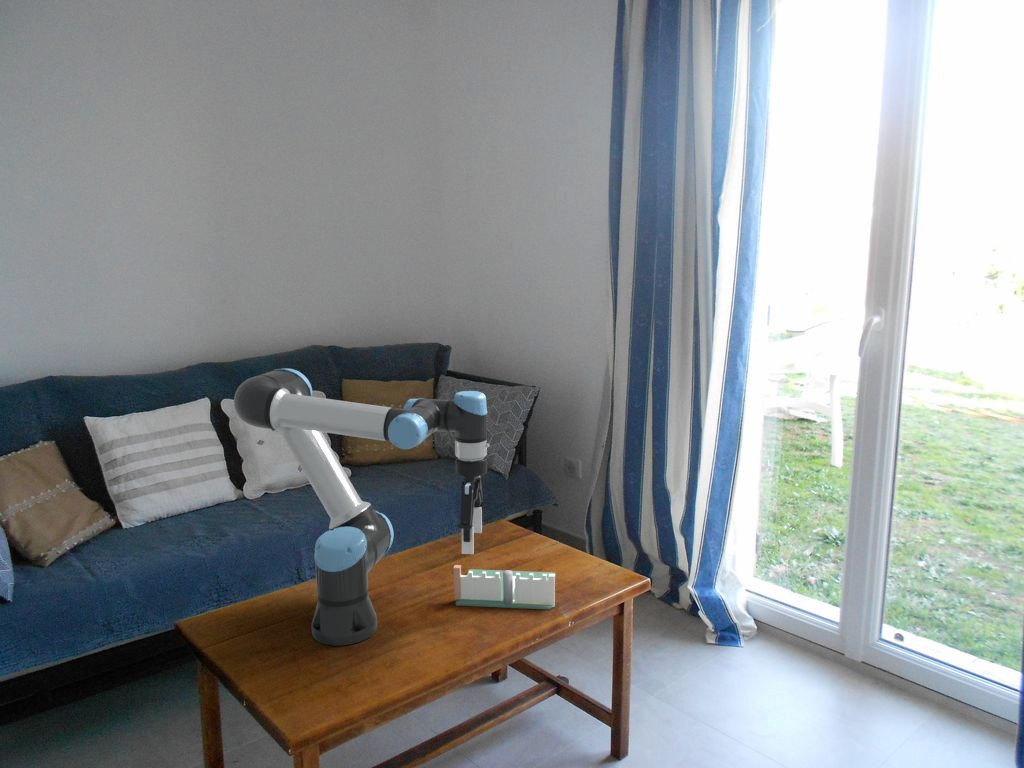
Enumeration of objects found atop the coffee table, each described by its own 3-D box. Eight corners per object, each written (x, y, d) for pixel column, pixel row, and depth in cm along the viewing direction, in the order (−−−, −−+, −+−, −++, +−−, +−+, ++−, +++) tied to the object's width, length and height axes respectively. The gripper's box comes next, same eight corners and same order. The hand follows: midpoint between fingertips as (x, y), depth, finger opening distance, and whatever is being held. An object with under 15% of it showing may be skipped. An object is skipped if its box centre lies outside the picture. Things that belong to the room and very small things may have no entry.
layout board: (455, 605, 188) (455, 602, 188) (469, 571, 208) (469, 568, 207) (551, 609, 185) (551, 606, 185) (555, 574, 205) (555, 572, 205)
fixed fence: (502, 605, 188) (502, 574, 186) (503, 601, 190) (503, 569, 188) (554, 608, 186) (554, 576, 185) (554, 603, 188) (554, 572, 187)
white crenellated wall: (454, 599, 189) (453, 567, 188) (455, 596, 191) (454, 565, 189) (500, 601, 188) (500, 569, 186) (501, 598, 189) (501, 566, 188)
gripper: (479, 472, 164) (479, 564, 168) (493, 443, 188) (494, 524, 192) (445, 471, 165) (447, 563, 169) (464, 442, 189) (465, 523, 193)
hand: (472, 542), depth 181 cm, fingers open, 12 cm apart
